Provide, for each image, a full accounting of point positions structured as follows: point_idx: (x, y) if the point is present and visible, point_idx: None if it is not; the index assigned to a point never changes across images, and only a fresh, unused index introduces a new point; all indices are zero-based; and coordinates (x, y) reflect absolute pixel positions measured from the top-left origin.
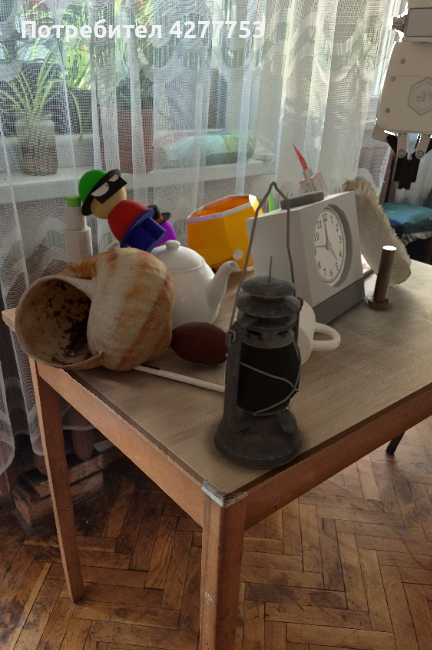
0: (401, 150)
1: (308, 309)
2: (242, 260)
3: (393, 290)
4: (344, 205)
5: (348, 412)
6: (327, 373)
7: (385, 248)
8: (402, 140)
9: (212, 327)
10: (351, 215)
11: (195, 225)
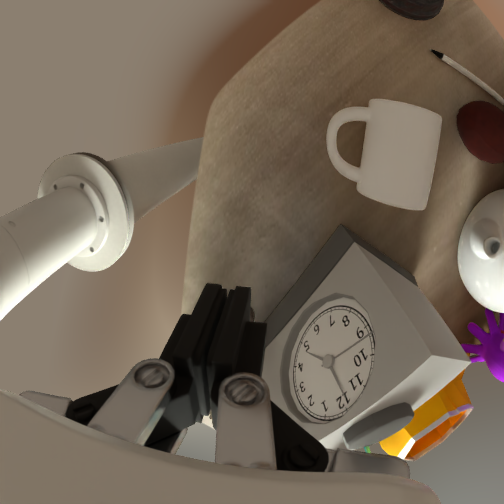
0: (245, 402)
1: (380, 180)
2: None
3: None
4: None
5: (315, 24)
6: (336, 106)
7: None
8: (243, 444)
9: (492, 129)
10: None
11: (466, 400)
